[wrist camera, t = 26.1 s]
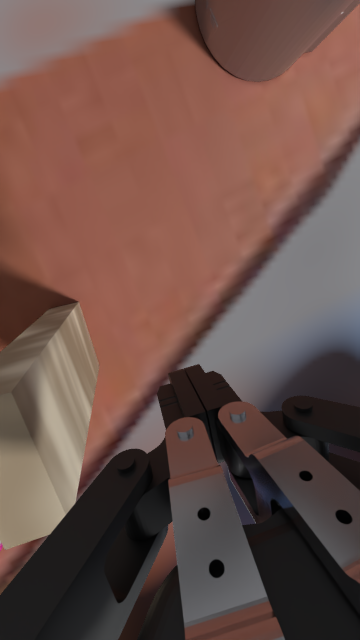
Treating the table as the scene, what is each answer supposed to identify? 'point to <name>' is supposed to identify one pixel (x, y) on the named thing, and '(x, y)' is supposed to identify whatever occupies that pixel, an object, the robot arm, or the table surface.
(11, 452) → the tan flat rectangular block
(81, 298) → the table surface
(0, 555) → the table surface
